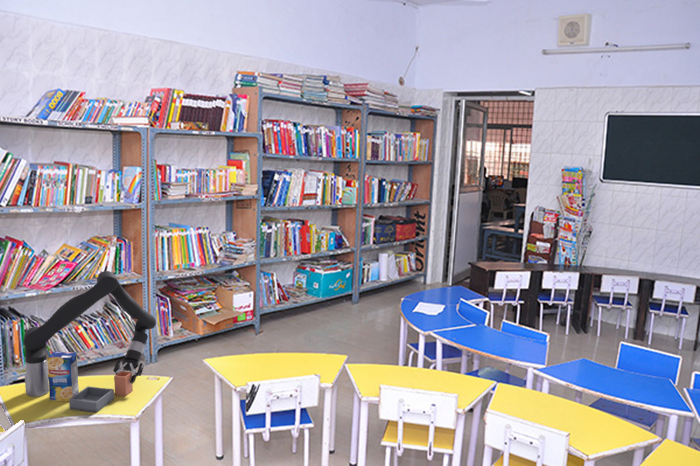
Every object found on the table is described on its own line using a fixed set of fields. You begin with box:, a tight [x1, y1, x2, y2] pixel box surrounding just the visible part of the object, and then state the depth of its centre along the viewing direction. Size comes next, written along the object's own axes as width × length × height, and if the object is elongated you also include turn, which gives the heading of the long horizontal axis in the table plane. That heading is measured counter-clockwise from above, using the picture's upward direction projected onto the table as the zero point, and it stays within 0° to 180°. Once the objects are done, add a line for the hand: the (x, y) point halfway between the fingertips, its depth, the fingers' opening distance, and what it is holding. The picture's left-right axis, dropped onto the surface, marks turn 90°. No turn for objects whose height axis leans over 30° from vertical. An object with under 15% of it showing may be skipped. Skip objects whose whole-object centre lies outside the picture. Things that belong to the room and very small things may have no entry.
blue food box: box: [47, 351, 80, 402], centre depth 275 cm, size 7×11×22 cm, turn 92°
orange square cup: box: [113, 371, 134, 397], centre depth 283 cm, size 6×6×10 cm
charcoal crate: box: [68, 385, 115, 414], centre depth 271 cm, size 14×14×5 cm
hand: (123, 382), depth 283 cm, fingers open, 8 cm apart
